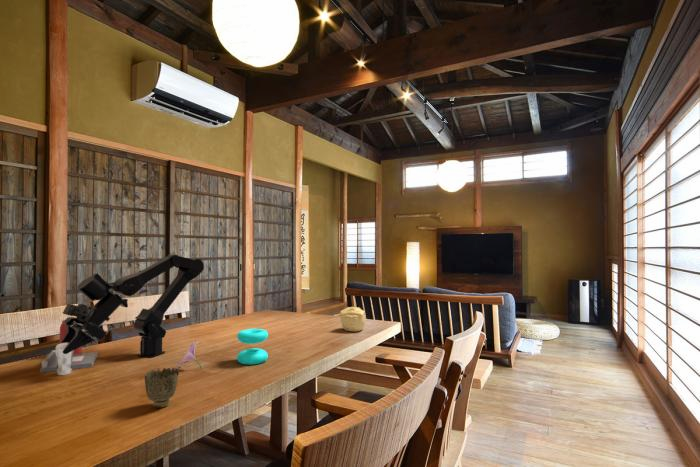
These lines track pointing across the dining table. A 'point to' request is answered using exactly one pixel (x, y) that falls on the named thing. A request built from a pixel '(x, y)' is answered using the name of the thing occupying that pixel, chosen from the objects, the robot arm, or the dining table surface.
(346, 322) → the pale yellow rounded lump
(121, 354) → the dining table surface
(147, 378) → the cup
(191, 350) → the lily
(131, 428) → the dining table surface
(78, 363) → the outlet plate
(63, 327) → the beer can
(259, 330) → the donuts
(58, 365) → the milkshake
